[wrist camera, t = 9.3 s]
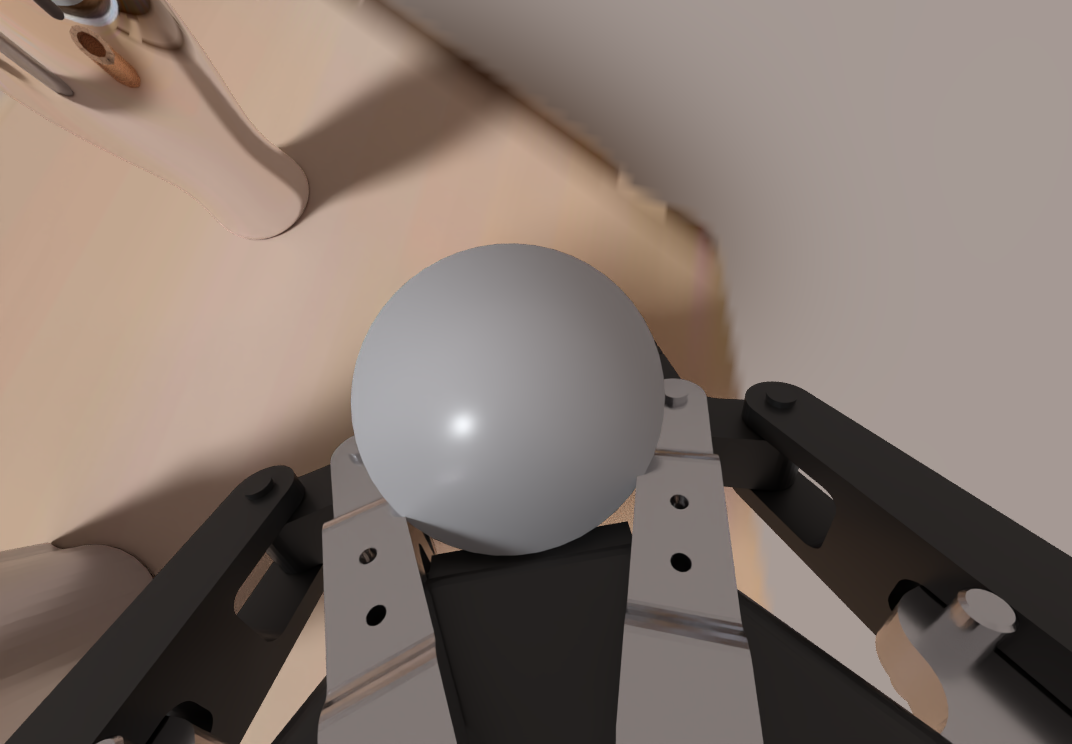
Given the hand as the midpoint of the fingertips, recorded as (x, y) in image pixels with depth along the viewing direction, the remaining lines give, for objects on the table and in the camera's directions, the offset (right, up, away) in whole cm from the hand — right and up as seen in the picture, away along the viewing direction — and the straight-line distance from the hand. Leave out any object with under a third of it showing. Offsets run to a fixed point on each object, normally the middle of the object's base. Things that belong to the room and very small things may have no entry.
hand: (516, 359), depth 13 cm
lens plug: (0, -3, +4) cm, 5 cm away
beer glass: (-17, +11, +14) cm, 24 cm away
